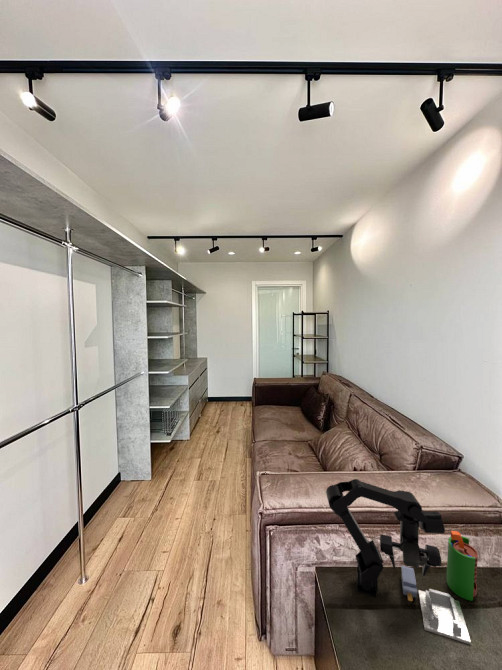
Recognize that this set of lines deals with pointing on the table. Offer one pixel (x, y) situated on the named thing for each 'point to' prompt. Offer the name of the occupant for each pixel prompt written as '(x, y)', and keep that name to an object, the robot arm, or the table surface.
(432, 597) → the chassis
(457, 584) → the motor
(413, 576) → the block
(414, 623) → the table surface
